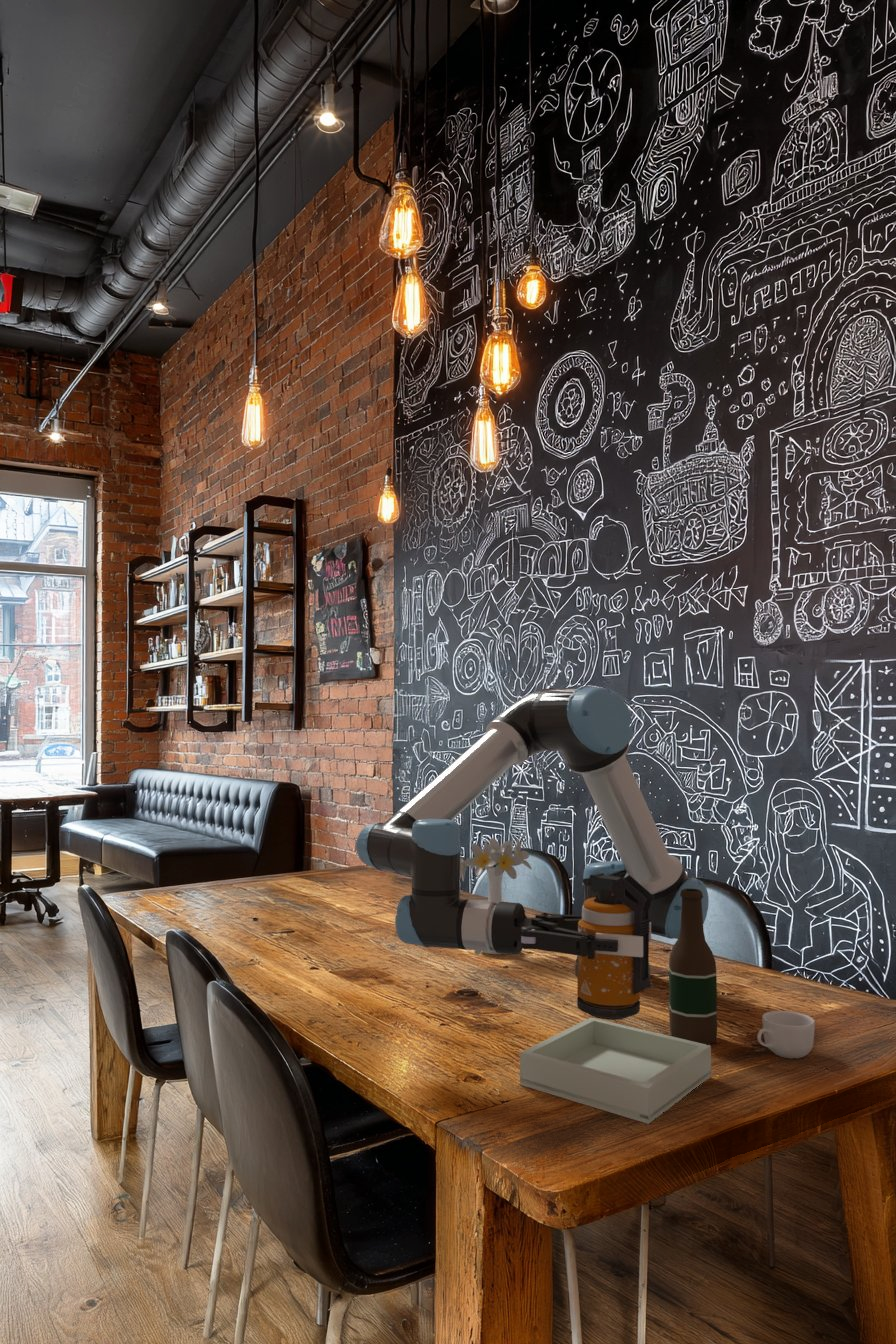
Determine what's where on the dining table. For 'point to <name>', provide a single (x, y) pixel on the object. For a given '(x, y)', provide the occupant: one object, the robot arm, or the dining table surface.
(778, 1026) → the teacup
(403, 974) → the dining table surface
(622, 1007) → the canister
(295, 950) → the dining table surface
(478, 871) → the flower vase
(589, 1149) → the dining table surface
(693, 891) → the beer bottle
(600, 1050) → the tray
